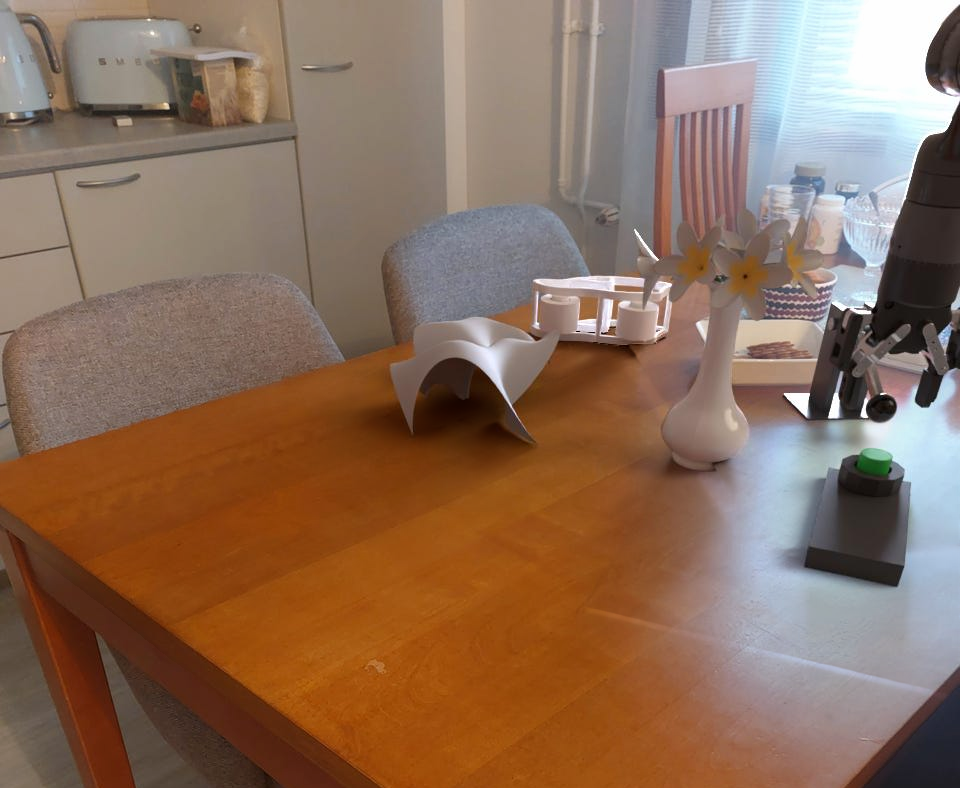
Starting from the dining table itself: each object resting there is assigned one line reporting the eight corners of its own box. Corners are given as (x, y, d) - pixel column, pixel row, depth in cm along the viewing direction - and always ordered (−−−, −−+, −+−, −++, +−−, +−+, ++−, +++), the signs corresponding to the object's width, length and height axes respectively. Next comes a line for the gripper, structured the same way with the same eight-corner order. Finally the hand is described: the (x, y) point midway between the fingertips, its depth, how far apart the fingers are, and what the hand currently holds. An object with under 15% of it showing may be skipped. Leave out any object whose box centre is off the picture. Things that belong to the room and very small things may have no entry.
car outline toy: (524, 342, 133) (527, 289, 128) (536, 320, 141) (539, 270, 137) (664, 355, 129) (672, 301, 125) (668, 331, 138) (675, 280, 134)
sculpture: (419, 361, 125) (418, 286, 119) (559, 369, 123) (564, 294, 118) (382, 434, 105) (378, 349, 99) (548, 445, 103) (554, 359, 98)
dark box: (824, 483, 97) (833, 448, 95) (905, 498, 95) (916, 462, 92) (803, 567, 83) (813, 528, 81) (897, 587, 81) (910, 547, 78)
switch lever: (891, 428, 103) (905, 410, 100) (864, 429, 102) (877, 411, 99) (859, 324, 109) (872, 304, 106) (833, 324, 108) (845, 304, 105)
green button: (857, 461, 93) (861, 445, 92) (888, 467, 92) (893, 451, 91) (855, 473, 91) (859, 456, 90) (887, 479, 90) (892, 462, 89)
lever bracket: (885, 426, 110) (918, 318, 103) (805, 428, 109) (832, 318, 102) (857, 401, 117) (885, 297, 109) (781, 402, 116) (804, 298, 108)
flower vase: (602, 436, 106) (627, 199, 91) (760, 437, 107) (810, 202, 92) (620, 488, 95) (652, 228, 81) (796, 488, 96) (859, 231, 81)
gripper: (876, 260, 88) (835, 421, 98) (1017, 259, 89) (963, 418, 99) (844, 241, 94) (808, 395, 104) (976, 240, 95) (929, 392, 105)
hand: (884, 406), depth 101 cm, fingers open, 8 cm apart
